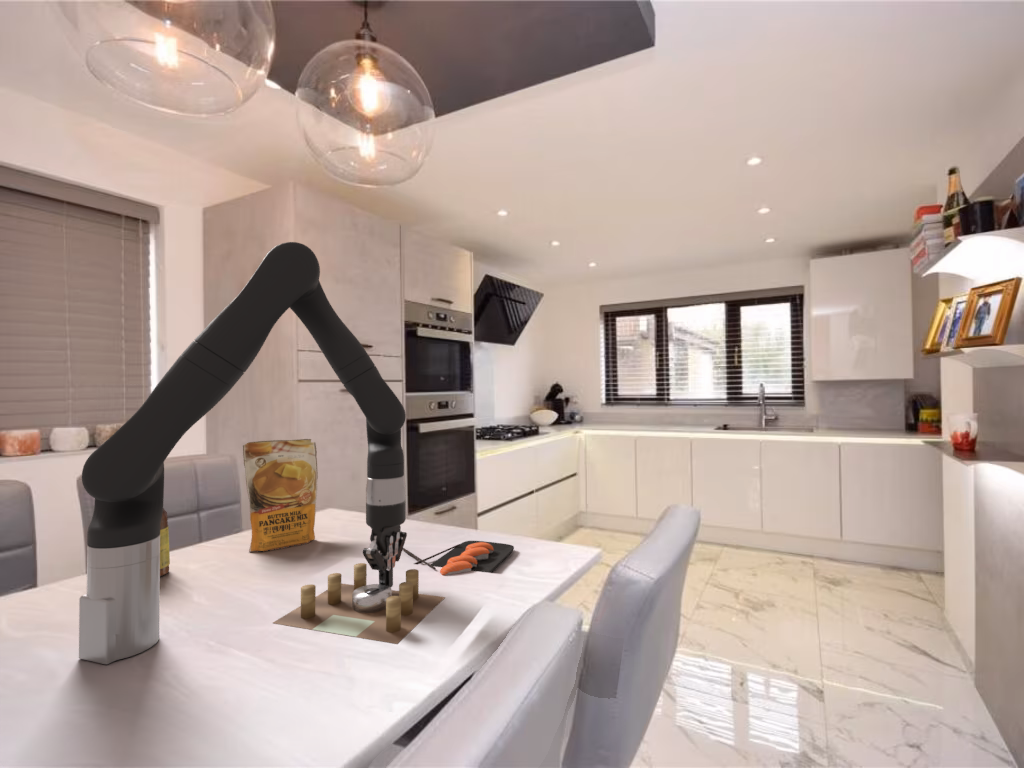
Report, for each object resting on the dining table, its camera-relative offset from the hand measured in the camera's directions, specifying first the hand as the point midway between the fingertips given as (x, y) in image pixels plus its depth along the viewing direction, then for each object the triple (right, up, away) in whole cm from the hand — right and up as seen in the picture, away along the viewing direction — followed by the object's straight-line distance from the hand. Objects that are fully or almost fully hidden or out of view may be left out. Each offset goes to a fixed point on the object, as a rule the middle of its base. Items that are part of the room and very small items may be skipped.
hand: (386, 587), depth 95 cm
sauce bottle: (-56, -3, +13) cm, 57 cm away
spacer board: (-2, -3, -7) cm, 8 cm away
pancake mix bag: (-37, -3, +35) cm, 51 cm away
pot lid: (-1, -1, -5) cm, 5 cm away
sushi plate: (+7, -4, +22) cm, 23 cm away
